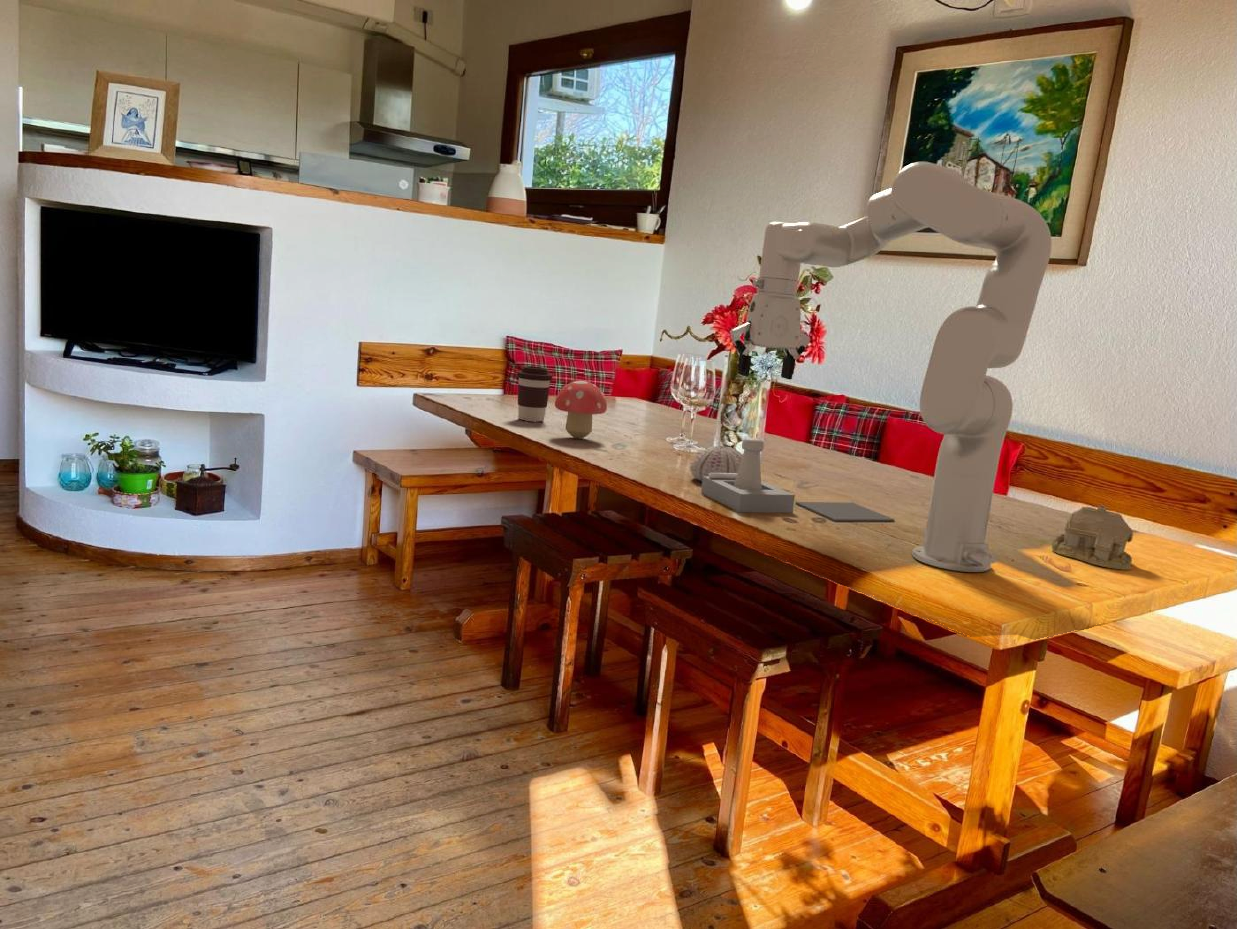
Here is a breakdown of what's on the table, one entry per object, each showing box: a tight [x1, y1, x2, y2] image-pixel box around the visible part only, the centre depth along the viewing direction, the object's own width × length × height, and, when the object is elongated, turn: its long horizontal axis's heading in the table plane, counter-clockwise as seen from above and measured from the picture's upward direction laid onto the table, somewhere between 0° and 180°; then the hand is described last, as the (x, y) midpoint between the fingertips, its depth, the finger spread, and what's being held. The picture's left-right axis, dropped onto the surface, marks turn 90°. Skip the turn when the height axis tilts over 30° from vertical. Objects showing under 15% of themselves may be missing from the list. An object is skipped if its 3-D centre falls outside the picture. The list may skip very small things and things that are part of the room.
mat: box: [794, 501, 896, 522], centre depth 200 cm, size 14×14×1 cm
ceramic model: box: [1051, 505, 1134, 571], centre depth 181 cm, size 14×11×10 cm
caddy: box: [700, 473, 796, 513], centre depth 200 cm, size 16×12×5 cm
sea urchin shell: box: [689, 445, 743, 482], centre depth 219 cm, size 13×14×8 cm
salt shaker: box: [734, 437, 765, 490], centre depth 200 cm, size 6×6×13 cm
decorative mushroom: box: [554, 380, 608, 440], centre depth 258 cm, size 13×13×15 cm
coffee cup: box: [516, 365, 553, 422], centre depth 281 cm, size 10×10×15 cm
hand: (764, 376), depth 196 cm, fingers open, 9 cm apart
